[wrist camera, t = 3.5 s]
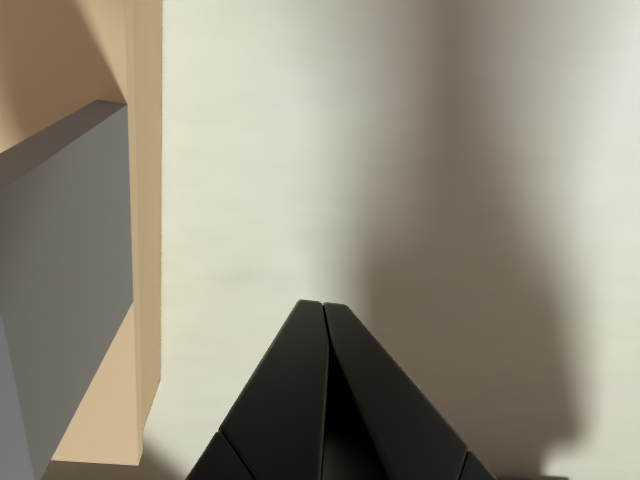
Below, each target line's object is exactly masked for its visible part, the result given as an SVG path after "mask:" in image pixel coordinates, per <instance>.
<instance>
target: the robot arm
mask: <svg viewBox="0 0 640 480" xmlns="http://www.w3.org/2000/svg"><path fill="white" fill-rule="evenodd" d="M468 450H469V447H468V445H467V444H466V443H465V442H464V441H463V440H462V439H461V437H460V436H459V435H458V434H457V433H456V432H455V430H454V429H453V428H452V427H451V426H450V425H449V423H448V422H447V421H446V420H445V419H444V418H443V417H442V415H441V414H440V413H439V412H438V411H437V410H436V408H435V407H434V406H433V405H432V404H431V403H430V401H429V400H428V399H427V398H426V397H425V396H424V394H423V393H422V392H421V391H420V390H419V389H418V388H417V386H416V385H415V384H414V383H413V382H412V381H411V379H410V378H409V377H408V376H407V375H406V374H405V372H404V371H403V370H402V369H401V368H400V367H399V365H398V364H397V363H396V362H395V361H394V360H393V359H392V357H391V356H390V355H389V354H388V353H387V352H386V350H385V349H384V348H383V347H382V346H381V345H380V343H379V342H378V341H377V340H376V339H375V338H374V336H373V335H372V334H371V333H370V332H369V331H368V330H367V328H366V327H365V326H364V325H363V324H362V323H361V321H360V320H359V319H358V318H357V317H356V316H355V314H354V313H353V312H352V311H351V310H350V309H349V307H347V306H346V305H344V304H337V303H328V302H325V303H324V304H323V305H322V303H320V302H319V301H311V300H299V301H298V302H297V303H296V305H295V306H294V308H293V310H292V311H291V313H290V314H289V316H288V318H287V319H286V321H285V322H284V324H283V326H282V327H281V329H280V330H279V332H278V334H277V335H276V337H275V339H274V340H273V342H272V343H271V345H270V347H269V348H268V350H267V351H266V353H265V355H264V356H263V358H262V359H261V361H260V363H259V364H258V366H257V368H256V369H255V371H254V372H253V374H252V376H251V377H250V379H249V380H248V382H247V384H246V385H245V387H244V388H243V390H242V392H241V393H240V395H239V396H238V398H237V400H236V401H235V403H234V405H233V406H232V408H231V409H230V411H229V413H228V414H227V416H226V417H225V419H224V421H223V422H222V424H221V425H220V427H219V429H218V432H216V433H215V435H214V436H213V438H212V439H211V441H210V443H209V444H208V446H207V447H206V449H205V451H204V452H203V454H202V455H201V457H200V458H199V460H198V461H197V463H196V464H195V466H194V467H193V469H192V470H191V472H190V473H189V475H188V476H187V478H186V479H185V480H497V479H496V477H495V476H494V475H493V474H492V473H491V472H490V471H489V470H488V468H487V467H486V466H485V465H484V464H483V463H482V461H481V460H480V459H479V458H478V457H477V456H476V454H475V453H474V452H473V451H469V452H468Z"/></svg>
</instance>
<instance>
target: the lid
mask: <svg viewBox="0 0 640 480" xmlns="http://www.w3.org/2000/svg"><path fill="white" fill-rule="evenodd" d="M142 453H143V438H142V393H141V348H140V302H139V257H138V212H137V166H136V121H135V76H134V30H133V0H0V480H41V478H42V476H43V474H44V472H45V470H46V468H47V466H48V465H49V463H50V461H51V460H57V461H73V462H89V463H105V464H121V465H137V466H138V465H139V462H140V459H141V456H142Z"/></svg>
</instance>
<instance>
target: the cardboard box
mask: <svg viewBox="0 0 640 480" xmlns="http://www.w3.org/2000/svg"><path fill="white" fill-rule="evenodd" d="M133 30H134V76H135V121H136V166H137V212H138V257H139V302H140V348H141V393H142V432H143V429H144V426H145V424H146V421H147V418H148V415H149V412H150V409H151V406H152V403H153V400H154V397H155V395H156V392H157V389H158V386H159V383H160V351H161V149H162V0H133Z"/></svg>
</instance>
